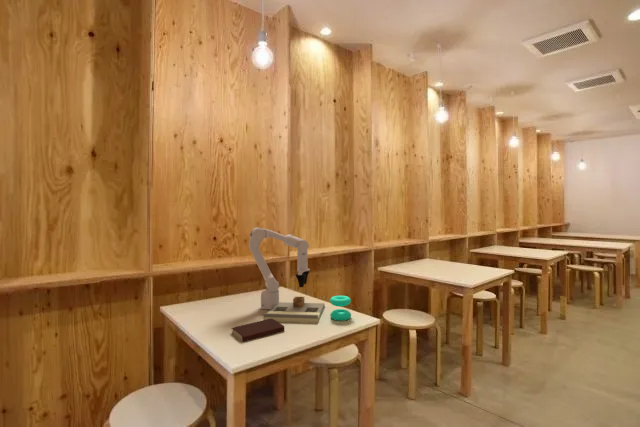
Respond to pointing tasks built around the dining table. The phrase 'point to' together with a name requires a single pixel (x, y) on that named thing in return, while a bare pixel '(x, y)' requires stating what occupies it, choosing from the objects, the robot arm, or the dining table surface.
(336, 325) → the dining table surface
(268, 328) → the book
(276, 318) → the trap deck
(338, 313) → the donuts
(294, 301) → the block
